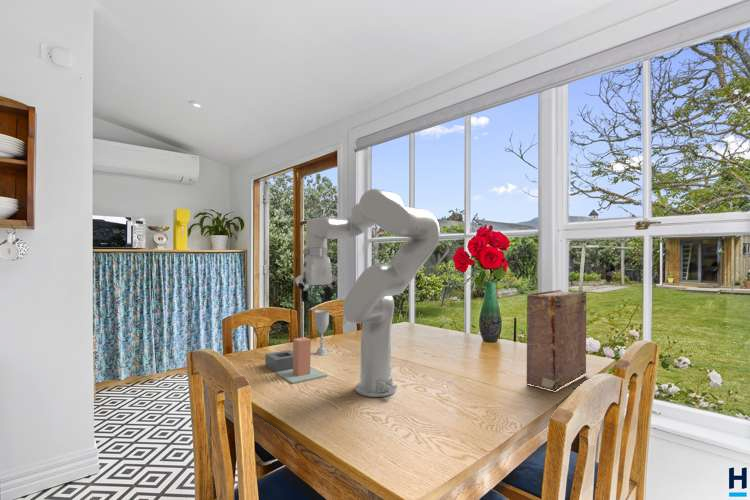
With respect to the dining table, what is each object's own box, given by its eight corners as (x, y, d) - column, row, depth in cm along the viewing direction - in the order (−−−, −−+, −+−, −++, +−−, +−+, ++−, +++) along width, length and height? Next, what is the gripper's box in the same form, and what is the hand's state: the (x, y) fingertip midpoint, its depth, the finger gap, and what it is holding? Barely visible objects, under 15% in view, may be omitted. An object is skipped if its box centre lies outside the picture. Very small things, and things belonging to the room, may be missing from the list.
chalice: (328, 355, 159) (328, 312, 159) (312, 355, 159) (312, 312, 160) (330, 351, 167) (331, 310, 167) (315, 351, 167) (315, 309, 167)
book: (559, 370, 142) (560, 289, 142) (586, 376, 135) (586, 291, 136) (526, 385, 125) (526, 294, 126) (554, 393, 119) (555, 296, 119)
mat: (327, 376, 133) (327, 374, 133) (292, 384, 125) (292, 382, 125) (309, 367, 143) (309, 365, 143) (276, 373, 135) (276, 372, 135)
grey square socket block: (301, 367, 143) (301, 355, 143) (276, 372, 137) (276, 359, 137) (289, 361, 151) (290, 350, 151) (265, 365, 145) (265, 353, 145)
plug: (310, 373, 134) (310, 339, 134) (298, 376, 131) (298, 341, 131) (304, 370, 137) (304, 337, 137) (292, 372, 135) (293, 338, 135)
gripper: (300, 253, 130) (300, 303, 129) (342, 253, 141) (342, 299, 141) (290, 253, 135) (290, 301, 135) (330, 253, 147) (331, 298, 146)
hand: (316, 300), depth 138 cm, fingers open, 9 cm apart
